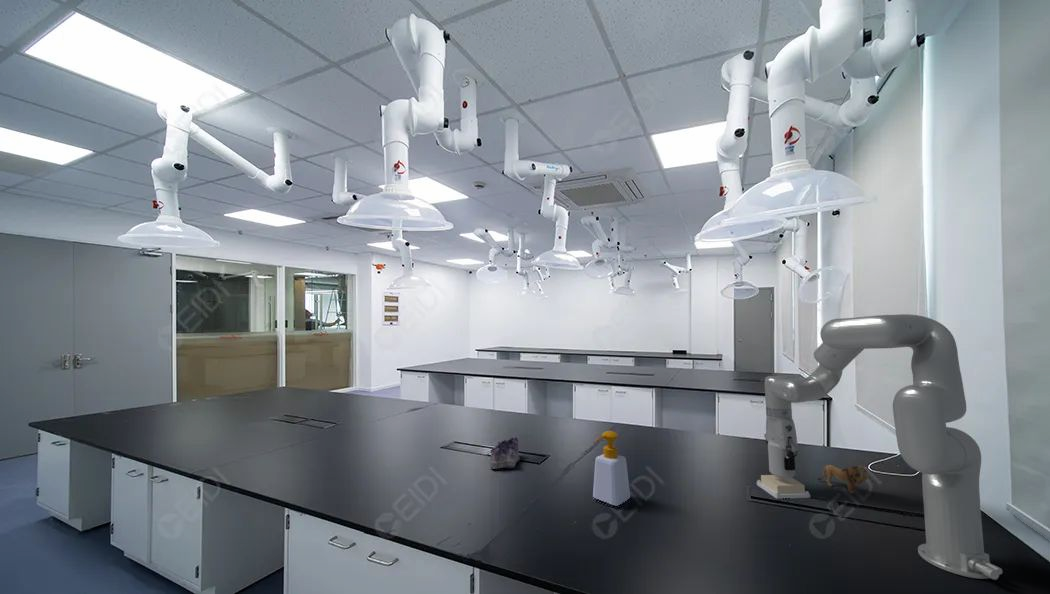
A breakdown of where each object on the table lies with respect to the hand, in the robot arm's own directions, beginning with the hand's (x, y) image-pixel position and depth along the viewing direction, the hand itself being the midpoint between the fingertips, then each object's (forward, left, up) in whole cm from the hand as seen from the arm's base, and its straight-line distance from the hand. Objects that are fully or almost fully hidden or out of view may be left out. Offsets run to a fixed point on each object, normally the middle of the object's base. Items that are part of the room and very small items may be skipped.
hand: (781, 465), depth 137 cm
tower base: (0, 0, -9) cm, 9 cm away
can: (0, 0, -3) cm, 3 cm away
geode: (+33, +95, -9) cm, 101 cm away
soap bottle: (-5, +61, -9) cm, 61 cm away
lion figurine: (+1, -22, -9) cm, 24 cm away
